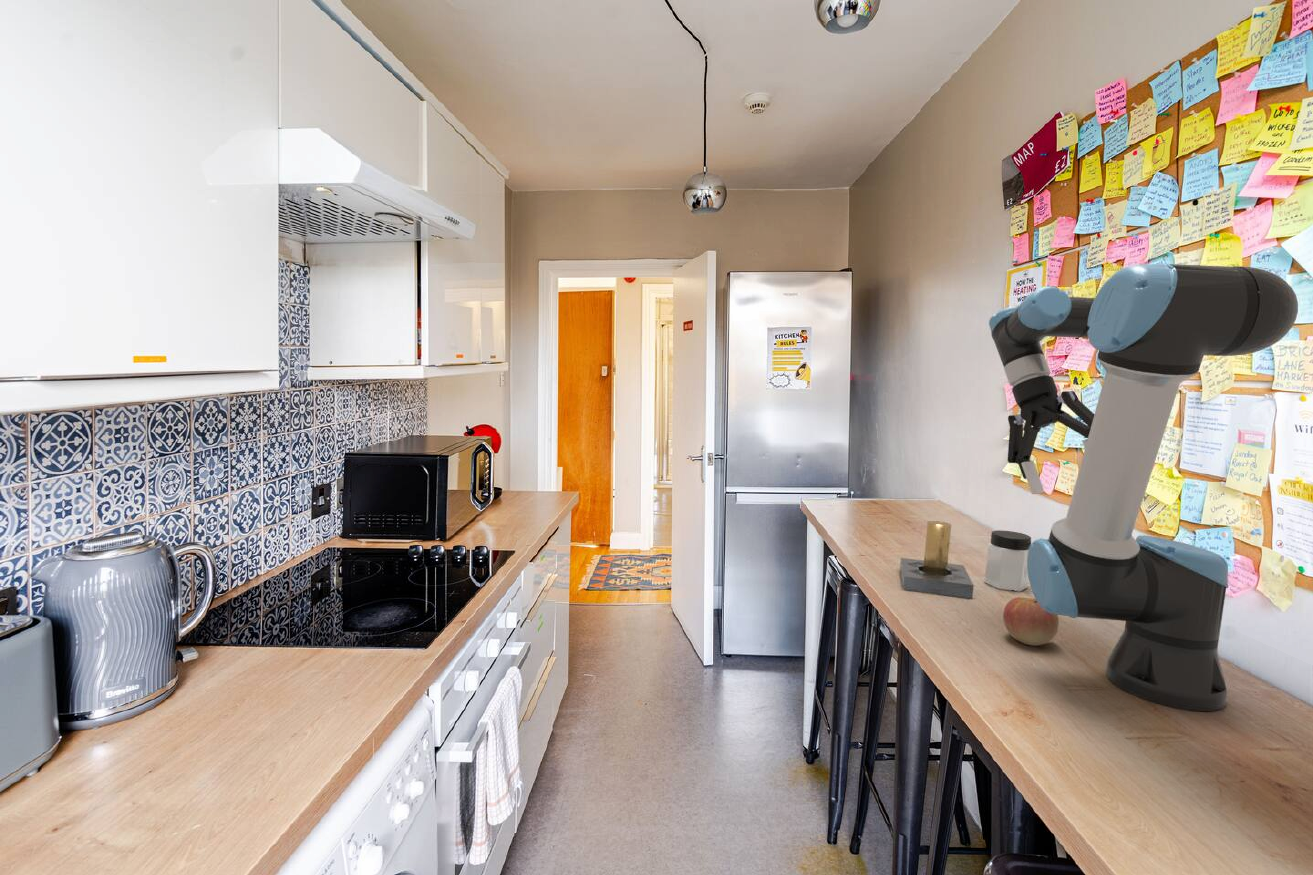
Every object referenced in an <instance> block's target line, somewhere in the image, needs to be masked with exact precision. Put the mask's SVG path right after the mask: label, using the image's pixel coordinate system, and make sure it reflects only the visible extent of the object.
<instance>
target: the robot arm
mask: <svg viewBox="0 0 1313 875" xmlns="http://www.w3.org/2000/svg"><path fill="white" fill-rule="evenodd" d="M1298 313H1299V301H1298V299H1297V294H1296V292H1295V291H1294V289H1293V288H1292V286H1291V285H1290V284H1289V283H1288V282H1287V281H1286V280H1285V279H1283V278H1282V277H1281V276H1279V275H1277V274H1276V273H1274V272H1270V271H1268V270H1265V269H1262V268H1257V267H1252V266H1238V265H1236V266H1235V265H1234V266H1228V265H1227V266H1226V265H1225V266H1221V265H1198V264H1178V263H1177V264H1175V263H1162V262H1161V263H1160V262H1159V263H1147V264H1145V263H1144V264H1132V265H1128V266H1125V267H1123V268H1121V269H1119V270H1117V271H1115V273H1114V274H1112V275H1111V277H1109V278H1108V279H1107V280H1106V281H1105V282H1104V283H1103V284H1102V285H1101V287H1100V289H1099V290H1098V292H1097V294H1096V295H1095V297H1082V296H1081V297H1079V296H1078V297H1077V296H1070V295H1069V294H1067V293H1066V291H1064V290H1063V289H1060V288H1057V287H1056V286H1049V285H1048V286H1041V287H1039V288H1037V289H1035V290H1034V291H1032V293H1030V294H1029V295H1028V296H1026V297H1025V298H1024V299H1023V300H1022V301H1021V302H1020V303H1019V305H1014V306H1013V305H1012V306H1010V307H1005V308H1003V309H1000V310H998V311H997V313H994V314H993V315H991V317H990V318H989V320H988V326H989V329H990V332H991V337H992V340H993V342H994V345H995V347H996V351H997V353H998V355H999V358H1000V362H1001V363H1002V366H1003V369H1004V372H1005V375H1006V379H1007V381H1008V384H1009V386H1010V387H1012V389H1011V392H1012V395H1013V397H1014V401H1015V404H1016V405H1017V406H1018V407H1019V410H1020V413H1018V414H1013V415H1008V417H1007V421H1008V425H1009V436H1008V450H1007V463H1009V464H1017V465H1018V466H1019V469H1020V473H1021V476H1022V478H1023V480H1026V481H1027V484H1028V487H1029V490H1030V492H1031V494H1032V495H1036V494H1043V493H1045V489H1044V486H1043V484H1042V480H1041V478H1040V475H1039V472H1038V469H1037V466H1036V464H1035V461H1034V460H1033V461H1032V460H1031V457H1032V453H1033V450H1034V448H1035V443H1036V440H1037V438H1038V434H1039V432H1040V431H1041V429H1042V428H1043V429H1044V428H1046V427H1048V426H1050V425H1051V424H1056V423H1060V424H1062V425H1064V426H1065V427H1067V428H1068V429H1071V430H1072V431H1074V432H1075V433H1078V434H1079V435H1081V436H1082V437H1083V440H1081V442H1082V445H1083V447H1084V451H1083V455H1082V459H1081V462H1080V466H1079V470H1078V473H1077V476H1076V480H1075V485H1074V488H1073V492H1072V495H1071V499H1070V502H1069V506H1068V509H1067V513H1066V516H1065V517H1064V518H1061V519H1059V520H1057V521H1055V522H1054V523H1052V526H1051V528H1050V533H1049V536H1048V539H1046V538H1042V537H1041V538H1038V539H1035V540H1034V541H1032V542H1031V545H1030V547H1029V550H1028V556H1027V570H1028V577H1029V578H1028V583H1029V586H1030V589H1031V592H1032V594H1033V597H1034V599H1036V601H1037V602H1038V604H1039V605H1040V606H1041V607H1042V608H1043V609H1044V610H1045V611H1047V612H1048V613H1051V614H1055V615H1058V616H1065V617H1069V618H1072V619H1076V618H1083V619H1095V620H1110V621H1113V620H1114V621H1124V622H1125V623H1124V624H1125V625H1124V629H1123V633H1122V634H1121V636H1120V637H1119V639H1118V641H1117V643H1116V645H1115V646H1114V648H1113V650H1112V651H1111V654H1110V655H1109V656H1108V659H1107V662H1106V670H1105V675H1106V677H1107V679H1109V681H1110V682H1112V684H1114V685H1116V686H1117V687H1118V688H1120V689H1122V690H1123V691H1126V692H1127V693H1130V694H1132V695H1134V696H1137V697H1138V698H1139V697H1140V698H1142V699H1145V700H1147V701H1151V702H1153V703H1157V704H1160V705H1164V706H1168V707H1171V708H1172V707H1173V708H1177V709H1181V710H1189V711H1196V712H1198V711H1199V712H1212V711H1214V712H1215V711H1218V710H1221V709H1223V708H1224V707H1225V706H1226V701H1227V694H1228V690H1227V684H1226V681H1225V677H1224V673H1223V669H1222V665H1221V662H1220V658H1219V654H1218V653H1219V652H1218V650H1219V641H1220V640H1219V639H1220V636H1221V628H1222V619H1223V612H1224V605H1225V598H1226V591H1227V589H1228V588H1229V584H1228V580H1229V565H1228V562H1227V561H1226V559H1225V558H1224V557H1222V556H1221V555H1220V554H1218V553H1217V552H1216V553H1215V552H1214V551H1211V550H1208V549H1205V548H1203V547H1202V548H1201V547H1199V546H1195V545H1191V544H1189V543H1184V542H1181V541H1177V540H1173V539H1169V538H1168V539H1167V538H1163V537H1158V536H1151V535H1144V534H1143V535H1138V536H1137V537H1136V538H1135V537H1134V536H1133V535H1132V534H1133V533H1134V532H1133V531H1134V529H1135V525H1136V523H1137V519H1138V515H1139V512H1140V510H1141V507H1142V503H1143V501H1144V497H1145V495H1146V490H1147V488H1148V484H1149V482H1150V478H1151V475H1152V472H1153V469H1154V466H1155V463H1156V460H1157V457H1158V453H1159V450H1160V447H1161V444H1162V441H1163V437H1164V434H1165V431H1166V429H1167V425H1168V423H1169V419H1170V416H1171V412H1172V410H1173V407H1174V403H1175V400H1176V398H1177V393H1178V390H1179V388H1180V385H1181V384H1182V383H1183V382H1185V381H1187V380H1189V379H1191V378H1193V377H1195V376H1196V375H1198V374H1199V371H1200V369H1201V365H1202V362H1203V359H1204V357H1205V356H1210V357H1212V356H1213V357H1215V356H1216V357H1217V356H1218V357H1234V356H1245V355H1250V354H1253V353H1257V352H1261V351H1263V350H1265V349H1267V348H1270V347H1273V345H1275V344H1276V343H1278V342H1280V341H1281V340H1282V339H1283V338H1284V337H1285V336H1287V334H1288V333H1289V332H1290V330H1291V329H1292V328H1293V326H1294V324H1295V322H1296V320H1297V316H1298ZM1046 337H1050V338H1051V337H1052V338H1055V337H1056V338H1074V339H1075V338H1078V339H1079V338H1081V339H1084V338H1085V339H1088V342H1089V343H1090V345H1091V346H1092V347H1093V348H1094V349H1095V350H1097V351H1098V353H1097V357H1096V360H1097V362H1099V364H1100V365H1101V366H1102V368H1103V369H1104V371H1105V375H1104V377H1103V381H1102V382H1103V383H1102V384H1101V389H1100V393H1099V396H1098V397H1099V398H1098V401H1097V403H1096V407H1095V410H1094V412H1092V411H1091V410H1090V409H1089V408H1088V407H1087V406H1086V405H1085V404H1084V403H1083V402H1082V401H1081V400H1080V399H1079V398H1078V394H1076V392H1075V391H1074V390H1070V391H1069V390H1068V391H1067V390H1064V391H1063V390H1062V391H1061V393H1060V395H1058V394H1059V393H1058V391H1059V390H1058V388H1057V385H1056V383H1055V382H1056V381H1054V380H1055V379H1054V378H1053V376H1051V370H1050V367H1049V365H1048V361H1047V359H1046V357H1045V353H1044V350H1043V348H1042V345H1041V341H1043V340H1044V339H1045V338H1046ZM1063 404H1064V405H1066V407H1068V409H1070V411H1072V412H1073V413H1074V414H1075V415H1076V416H1077V417H1078V418H1079V419H1080V420H1078V419H1077V418H1075V417H1073V416H1071V414H1070V413H1068V412H1066V411H1065V410H1063V409H1062V407H1063Z"/></svg>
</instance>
